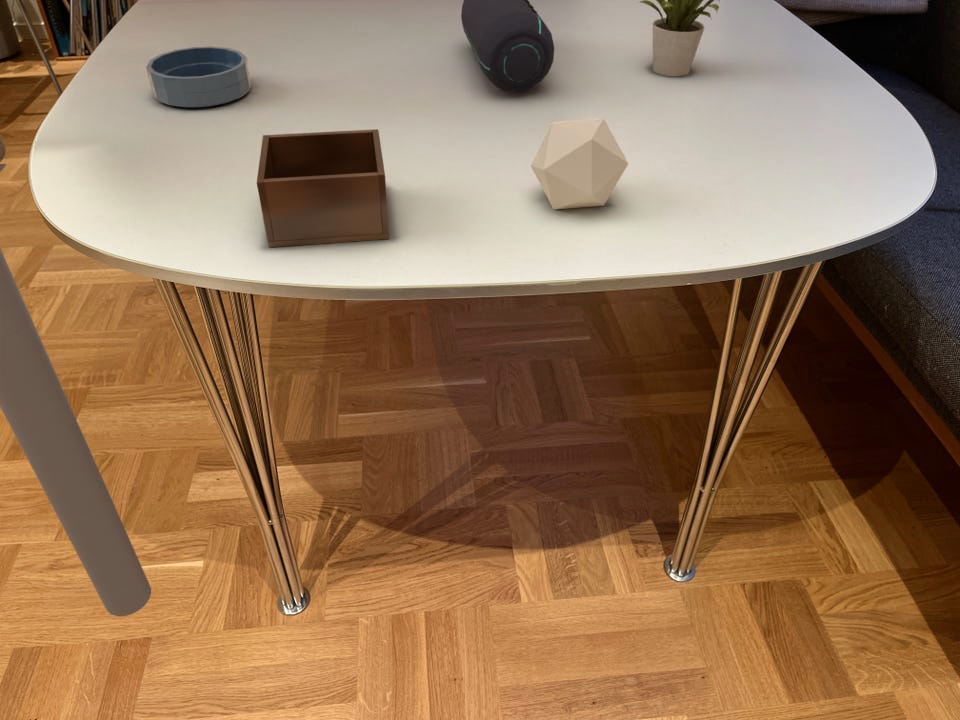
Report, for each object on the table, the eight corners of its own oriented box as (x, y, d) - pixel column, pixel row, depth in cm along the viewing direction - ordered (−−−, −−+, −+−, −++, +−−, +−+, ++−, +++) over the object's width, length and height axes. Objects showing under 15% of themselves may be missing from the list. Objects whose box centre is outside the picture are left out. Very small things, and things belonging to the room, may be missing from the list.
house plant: (749, 73, 110) (779, -55, 99) (696, 97, 102) (722, -39, 92) (666, 49, 117) (686, -72, 107) (610, 70, 110) (626, -58, 99)
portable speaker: (558, 100, 101) (564, 20, 94) (482, 103, 99) (484, 22, 93) (520, 40, 120) (524, -30, 113) (457, 43, 118) (457, -28, 112)
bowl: (147, 112, 96) (138, 80, 93) (162, 78, 105) (155, 48, 102) (247, 107, 97) (242, 75, 95) (254, 74, 107) (248, 44, 104)
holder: (268, 247, 71) (256, 182, 67) (273, 196, 79) (262, 134, 75) (389, 239, 73) (385, 174, 68) (382, 189, 80) (378, 129, 76)
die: (606, 185, 83) (558, 105, 80) (658, 176, 75) (607, 87, 72) (552, 232, 81) (500, 153, 78) (599, 229, 73) (544, 140, 70)
